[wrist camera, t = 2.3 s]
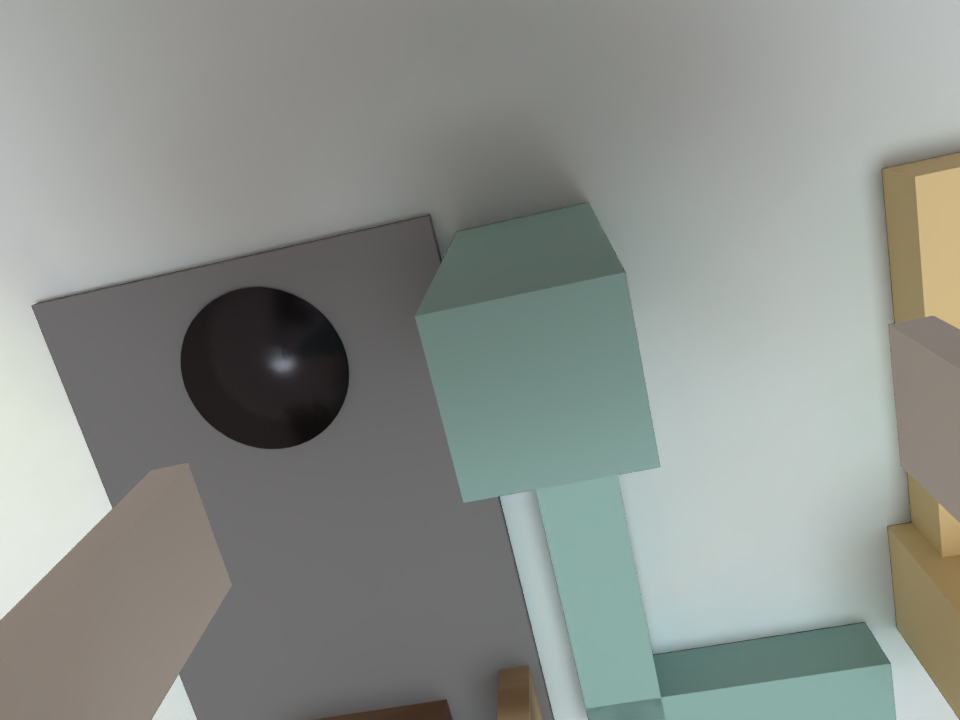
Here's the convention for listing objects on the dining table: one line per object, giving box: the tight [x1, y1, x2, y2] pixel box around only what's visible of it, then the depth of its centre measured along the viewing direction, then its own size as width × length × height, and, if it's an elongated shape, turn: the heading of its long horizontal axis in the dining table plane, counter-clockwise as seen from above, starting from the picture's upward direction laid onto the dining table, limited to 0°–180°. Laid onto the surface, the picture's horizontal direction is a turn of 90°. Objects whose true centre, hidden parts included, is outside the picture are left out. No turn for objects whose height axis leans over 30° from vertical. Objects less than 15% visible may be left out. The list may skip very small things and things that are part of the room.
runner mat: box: [32, 215, 554, 720], centre depth 34 cm, size 34×14×1 cm, turn 13°
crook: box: [415, 202, 896, 720], centre depth 25 cm, size 20×12×11 cm, turn 13°
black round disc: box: [180, 287, 349, 449], centre depth 30 cm, size 6×6×1 cm
